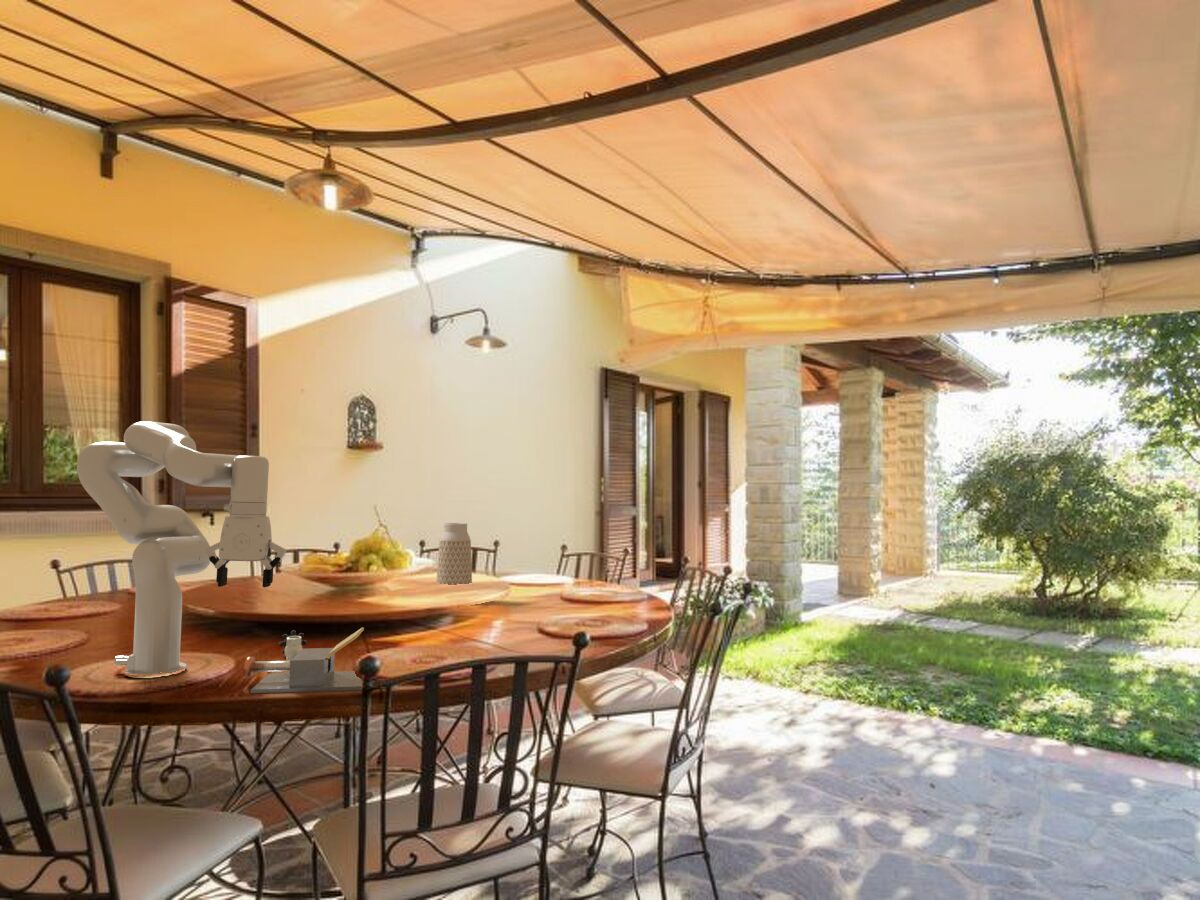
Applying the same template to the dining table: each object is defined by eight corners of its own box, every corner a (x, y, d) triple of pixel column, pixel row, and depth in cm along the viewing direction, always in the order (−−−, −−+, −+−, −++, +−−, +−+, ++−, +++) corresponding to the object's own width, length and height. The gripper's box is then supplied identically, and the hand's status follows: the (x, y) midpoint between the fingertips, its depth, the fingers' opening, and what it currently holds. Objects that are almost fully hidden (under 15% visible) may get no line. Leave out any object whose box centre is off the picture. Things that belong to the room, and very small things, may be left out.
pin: (243, 679, 159) (243, 659, 160) (249, 674, 164) (250, 654, 164) (311, 677, 162) (312, 657, 162) (315, 672, 166) (316, 653, 166)
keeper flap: (326, 660, 160) (324, 656, 160) (335, 650, 170) (333, 647, 170) (358, 638, 161) (355, 635, 161) (365, 630, 171) (362, 627, 171)
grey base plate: (250, 693, 155) (251, 662, 155) (269, 676, 169) (270, 648, 169) (363, 689, 159) (363, 659, 159) (372, 674, 173) (373, 646, 173)
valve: (307, 664, 181) (306, 654, 192) (308, 637, 182) (306, 629, 193) (278, 667, 179) (278, 656, 190) (279, 639, 179) (279, 631, 190)
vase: (468, 604, 280) (470, 524, 281) (432, 604, 279) (434, 523, 281) (474, 599, 293) (475, 522, 295) (439, 599, 293) (441, 522, 295)
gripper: (201, 509, 161) (196, 587, 160) (281, 511, 162) (278, 589, 161) (216, 508, 169) (212, 583, 168) (293, 510, 170) (289, 584, 169)
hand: (244, 586), depth 165 cm, fingers open, 9 cm apart
